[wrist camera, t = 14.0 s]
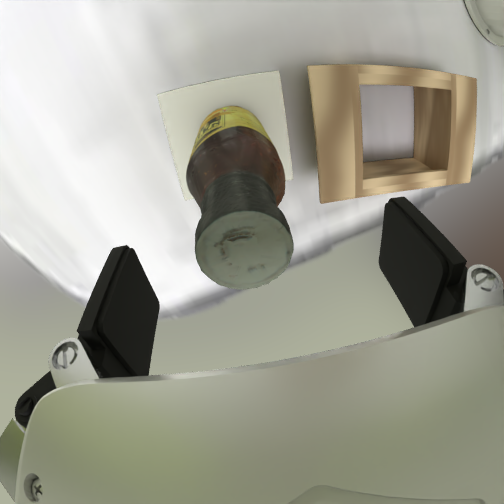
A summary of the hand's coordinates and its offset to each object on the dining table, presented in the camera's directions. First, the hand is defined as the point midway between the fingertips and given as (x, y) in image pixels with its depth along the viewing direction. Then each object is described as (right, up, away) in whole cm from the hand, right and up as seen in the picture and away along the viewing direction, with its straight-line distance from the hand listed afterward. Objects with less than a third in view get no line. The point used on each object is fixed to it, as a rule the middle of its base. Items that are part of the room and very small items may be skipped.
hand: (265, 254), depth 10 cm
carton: (+14, +15, +18) cm, 27 cm away
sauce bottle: (-3, +12, +17) cm, 21 cm away
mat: (-3, +12, +18) cm, 22 cm away
